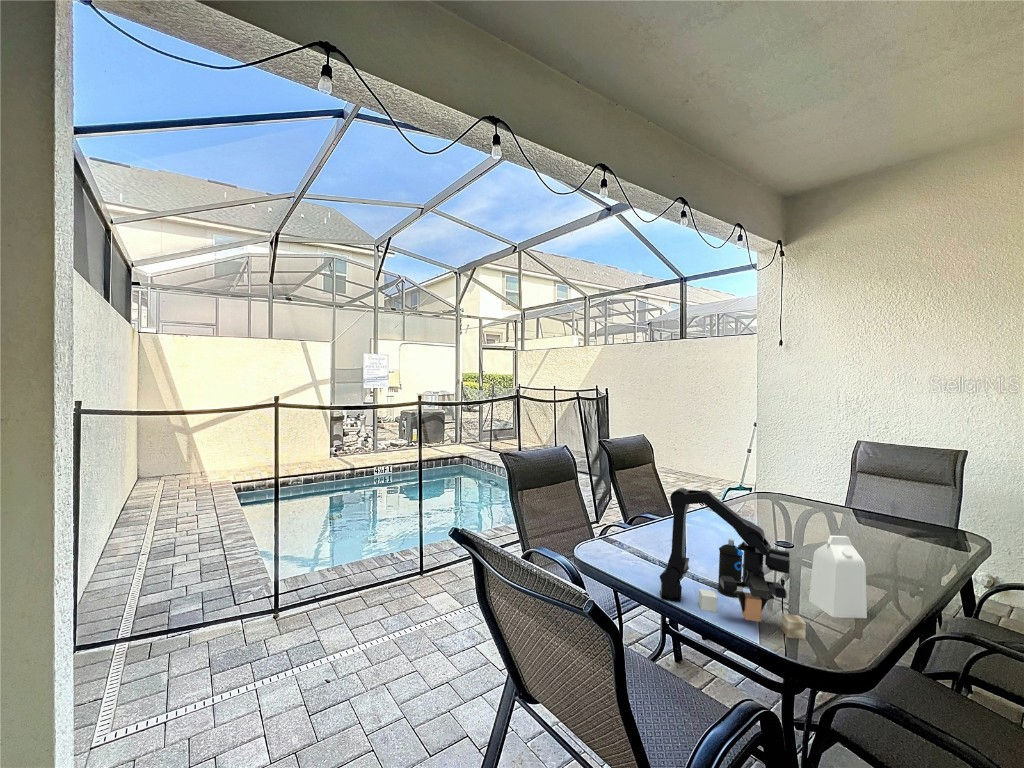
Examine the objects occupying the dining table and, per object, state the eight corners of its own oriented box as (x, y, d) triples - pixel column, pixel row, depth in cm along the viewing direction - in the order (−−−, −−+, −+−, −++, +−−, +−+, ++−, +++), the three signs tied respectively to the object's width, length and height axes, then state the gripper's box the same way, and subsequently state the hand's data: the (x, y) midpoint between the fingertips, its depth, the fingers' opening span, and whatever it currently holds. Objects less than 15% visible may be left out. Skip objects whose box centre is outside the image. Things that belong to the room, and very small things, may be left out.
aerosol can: (715, 593, 161) (717, 540, 161) (719, 585, 168) (721, 534, 168) (740, 599, 157) (742, 545, 157) (742, 591, 163) (744, 539, 164)
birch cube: (787, 637, 133) (787, 621, 133) (780, 628, 138) (781, 613, 138) (805, 640, 132) (805, 623, 132) (798, 631, 137) (798, 615, 137)
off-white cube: (701, 609, 148) (702, 595, 148) (698, 603, 153) (698, 589, 153) (717, 612, 147) (717, 597, 147) (713, 605, 152) (713, 591, 152)
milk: (840, 601, 159) (842, 531, 159) (866, 618, 147) (869, 542, 148) (808, 600, 158) (811, 530, 159) (833, 617, 147) (835, 541, 147)
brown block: (745, 619, 140) (746, 598, 140) (741, 612, 144) (742, 591, 144) (760, 621, 139) (761, 600, 139) (756, 614, 143) (756, 593, 143)
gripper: (729, 571, 136) (727, 620, 136) (794, 579, 132) (792, 630, 132) (720, 558, 147) (718, 603, 147) (780, 565, 143) (778, 612, 143)
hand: (751, 612), depth 142 cm, fingers closed on brown block, 4 cm apart
